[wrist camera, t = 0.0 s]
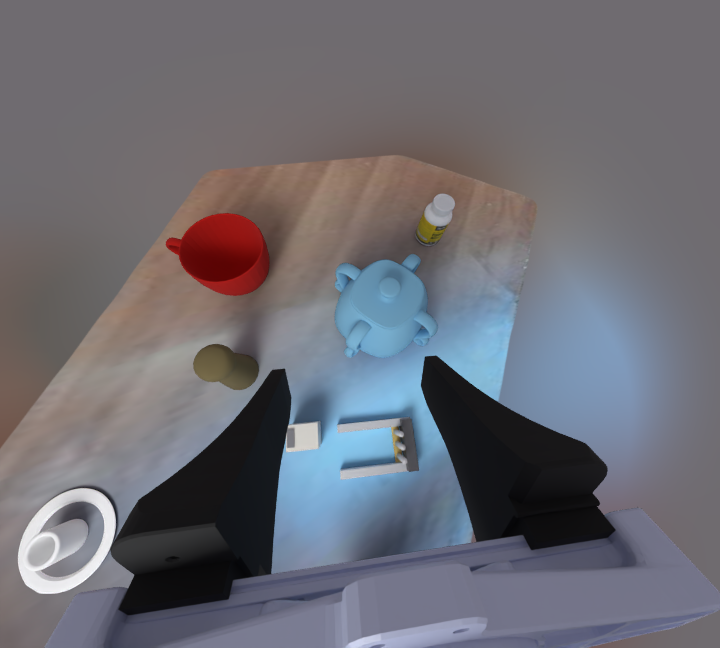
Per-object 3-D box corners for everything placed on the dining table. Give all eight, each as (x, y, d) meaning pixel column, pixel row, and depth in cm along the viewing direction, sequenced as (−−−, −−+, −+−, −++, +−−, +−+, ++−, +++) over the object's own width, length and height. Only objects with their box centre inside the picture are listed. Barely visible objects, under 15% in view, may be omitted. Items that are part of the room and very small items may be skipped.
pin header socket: (415, 468, 41) (423, 475, 37) (340, 477, 40) (340, 485, 36) (408, 416, 43) (415, 417, 39) (337, 424, 42) (336, 426, 38)
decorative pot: (424, 359, 47) (456, 340, 34) (336, 362, 46) (334, 344, 33) (414, 280, 52) (438, 237, 39) (335, 281, 51) (332, 237, 38)
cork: (253, 349, 46) (227, 332, 35) (262, 382, 44) (237, 373, 33) (219, 361, 44) (181, 347, 34) (226, 395, 43) (189, 391, 32)
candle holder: (28, 610, 33) (-16, 638, 29) (21, 512, 37) (-20, 525, 32) (126, 559, 36) (98, 578, 32) (112, 471, 39) (85, 478, 35)
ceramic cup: (204, 239, 52) (173, 202, 42) (286, 255, 52) (273, 220, 42) (178, 297, 48) (138, 269, 38) (267, 313, 48) (249, 290, 38)
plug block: (321, 443, 41) (318, 448, 36) (293, 446, 41) (285, 452, 36) (320, 420, 43) (317, 422, 37) (293, 423, 42) (285, 425, 37)
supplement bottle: (426, 251, 54) (443, 218, 45) (409, 233, 56) (423, 198, 46) (444, 238, 56) (464, 204, 46) (427, 222, 57) (444, 185, 48)
